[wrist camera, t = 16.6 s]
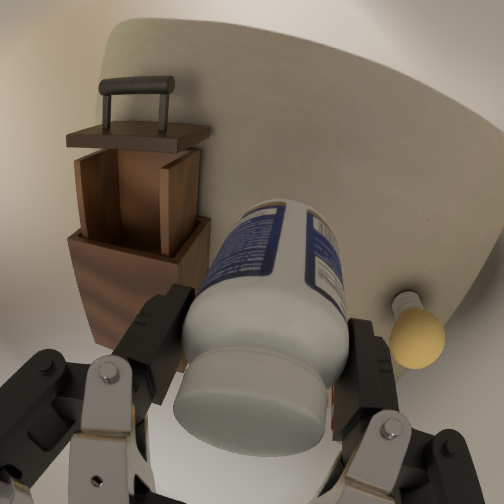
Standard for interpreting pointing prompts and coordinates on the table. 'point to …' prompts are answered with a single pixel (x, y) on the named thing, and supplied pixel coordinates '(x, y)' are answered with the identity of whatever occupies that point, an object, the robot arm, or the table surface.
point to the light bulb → (415, 333)
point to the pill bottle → (266, 334)
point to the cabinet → (132, 279)
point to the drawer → (138, 174)
